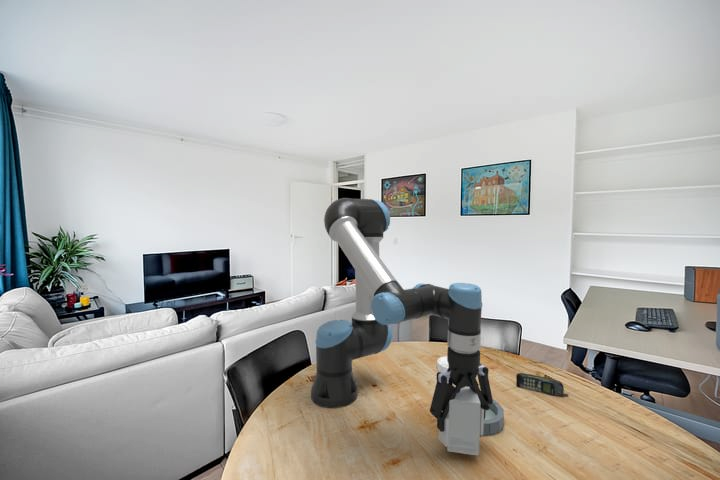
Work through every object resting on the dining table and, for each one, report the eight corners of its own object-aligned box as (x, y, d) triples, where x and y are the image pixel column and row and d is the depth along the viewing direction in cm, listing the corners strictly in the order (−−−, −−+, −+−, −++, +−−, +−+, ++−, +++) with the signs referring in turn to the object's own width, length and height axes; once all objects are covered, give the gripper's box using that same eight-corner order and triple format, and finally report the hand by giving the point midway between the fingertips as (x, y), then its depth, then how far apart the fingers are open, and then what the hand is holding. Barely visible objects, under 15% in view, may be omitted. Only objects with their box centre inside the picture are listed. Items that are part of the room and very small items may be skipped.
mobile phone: (516, 374, 105) (568, 384, 98) (516, 370, 108) (568, 380, 100) (516, 388, 106) (568, 399, 98) (516, 384, 108) (568, 395, 101)
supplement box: (479, 456, 71) (481, 403, 71) (446, 451, 73) (447, 400, 72) (474, 435, 78) (475, 387, 78) (444, 431, 80) (445, 384, 79)
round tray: (433, 407, 93) (433, 397, 93) (475, 397, 99) (475, 387, 99) (470, 441, 79) (470, 429, 78) (516, 427, 84) (517, 415, 84)
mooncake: (434, 362, 125) (434, 354, 125) (463, 363, 125) (464, 354, 125) (440, 377, 113) (440, 367, 113) (473, 377, 113) (473, 368, 113)
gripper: (433, 361, 67) (431, 460, 68) (511, 347, 75) (508, 435, 76) (415, 348, 74) (413, 438, 75) (488, 336, 82) (485, 417, 83)
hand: (461, 437), depth 75 cm, fingers closed on supplement box, 10 cm apart
